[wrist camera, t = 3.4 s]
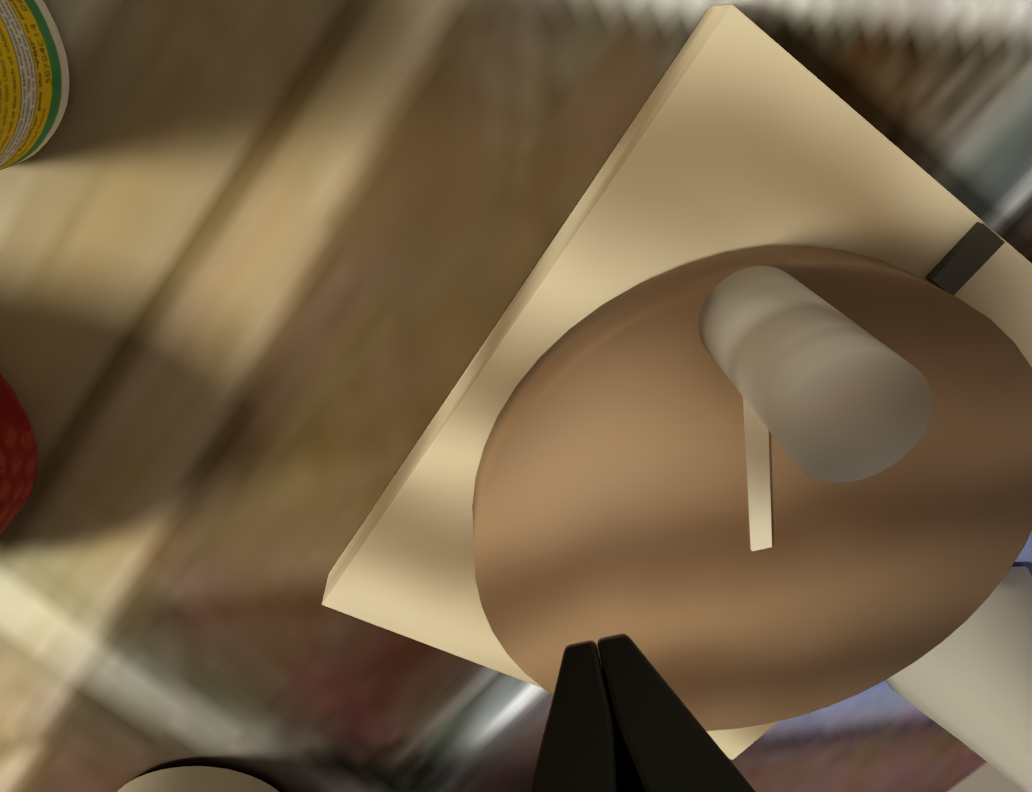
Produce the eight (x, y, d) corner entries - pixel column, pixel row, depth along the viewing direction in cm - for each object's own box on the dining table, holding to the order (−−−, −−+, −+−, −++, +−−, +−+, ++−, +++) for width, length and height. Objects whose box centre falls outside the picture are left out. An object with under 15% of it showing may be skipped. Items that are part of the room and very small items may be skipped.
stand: (721, 727, 30) (735, 766, 29) (329, 573, 24) (320, 611, 23) (1132, 366, 23) (1183, 391, 21) (710, 6, 16) (737, 3, 15)
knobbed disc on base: (967, 630, 26) (1128, 820, 19) (530, 721, 26) (553, 933, 20) (1047, 168, 17) (1372, 246, 11) (402, 315, 18) (374, 466, 12)
